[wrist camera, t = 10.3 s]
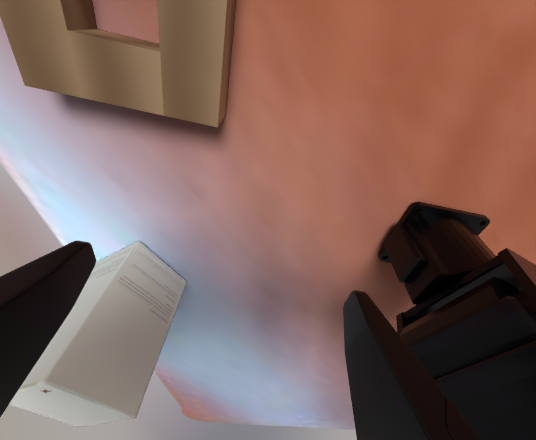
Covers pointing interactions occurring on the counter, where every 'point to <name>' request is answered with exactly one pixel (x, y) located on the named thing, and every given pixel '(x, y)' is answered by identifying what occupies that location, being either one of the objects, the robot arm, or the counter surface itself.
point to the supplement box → (106, 342)
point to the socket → (128, 56)
